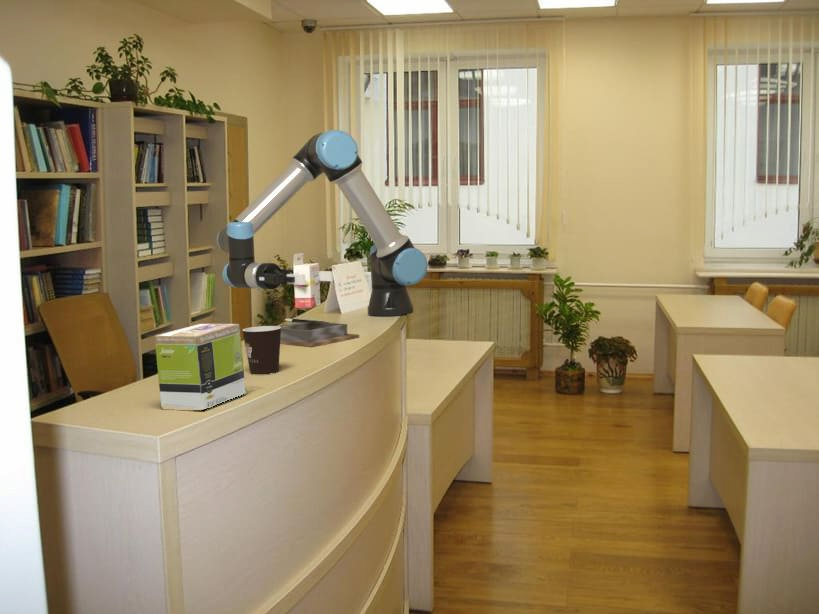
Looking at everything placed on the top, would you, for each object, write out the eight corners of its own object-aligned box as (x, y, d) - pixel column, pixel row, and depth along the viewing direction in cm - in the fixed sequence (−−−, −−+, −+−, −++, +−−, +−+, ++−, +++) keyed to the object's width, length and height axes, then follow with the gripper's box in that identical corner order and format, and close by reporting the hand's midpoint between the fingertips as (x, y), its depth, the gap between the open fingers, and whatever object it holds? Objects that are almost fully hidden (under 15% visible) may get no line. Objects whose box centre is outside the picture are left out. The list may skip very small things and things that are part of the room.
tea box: (205, 393, 191) (200, 322, 189) (247, 395, 187) (242, 322, 185) (159, 410, 177) (153, 333, 175) (203, 412, 173) (197, 334, 171)
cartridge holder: (309, 332, 271) (309, 320, 270) (359, 337, 258) (358, 323, 257) (262, 341, 257) (261, 328, 257) (312, 347, 244) (311, 332, 244)
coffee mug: (284, 374, 208) (281, 330, 207) (245, 377, 207) (242, 332, 205) (282, 365, 219) (280, 323, 218) (245, 368, 218) (242, 325, 217)
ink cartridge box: (312, 308, 252) (309, 254, 250) (294, 308, 253) (291, 254, 251) (321, 304, 260) (319, 252, 259) (304, 304, 261) (301, 252, 260)
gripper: (293, 285, 276) (347, 287, 261) (234, 292, 259) (288, 296, 245) (292, 260, 275) (346, 261, 261) (232, 266, 259) (286, 267, 244)
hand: (318, 278), depth 253 cm, fingers closed on ink cartridge box, 9 cm apart
